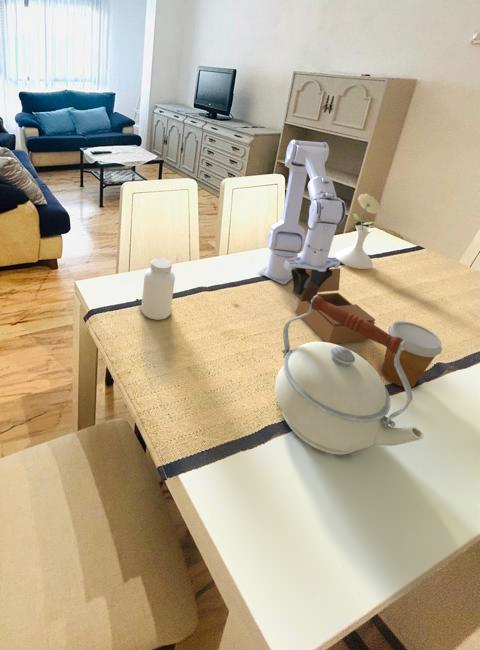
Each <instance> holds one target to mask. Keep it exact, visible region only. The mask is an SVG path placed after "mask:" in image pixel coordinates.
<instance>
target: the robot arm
mask: <svg viewBox="0 0 480 650" xmlns="http://www.w3.org/2000/svg"><path fill="white" fill-rule="evenodd" d="M329 154H330V147H329V144H328V143H327V142H325V141H323V142H321V141H308V140H297V139H292V140H290V142H289V143H288V145H287V148H286V154H285V159H284V166H285V167H286V168H288V169H289V173H288V181H287V186H286V192H285V199H284V204H283V211H282V217H281V220H279V221H277V222H275V223H273V224H272V225H271V227H270V229H269V232H268V234H267V248H268V249H269V250H270V253H269V258H268V261H267V266H266V269H264V270H263V271H261V272H260V275H261V276H264V277H266V278H268V279H270V280H273V281H275V282H276V283H279V284H281V285H286V284H287V283H289V281H291V280H292V285H293V288H292V292H293V291H295V292H296V293H297V294H298V295H300V294H301V292H302V290H303V287H304V284H305V282H306V281H307V279H308V278H309V277H310V275H308V274H307V273H306V270H311V278H310V280H311V281H312V282H313V283H314V284H315V285H317V286H318V287H319V288H320V286H321V285H322V284H323V282H324V281H325V280H326V279H328V278H329V277H330V276H332V273H333V272H332V271H331V270H330V269H331V268H333V269H335V268H340V265H341V262H340V261H339V260H338V259H337V258H336V257H330V256H329V254H330V251H331V247H332V245H333V241H334V237H335V234H336V231H337V227H338V225H342V224H343V222H344V220H345V218H346V212H347V208H346V202H345V201H344V200H343V199H341V198H340V197H338V196H337V192H336V189H335V185H334V182H333V179H331V178H330V177H328V176H327V173H326V166H325V164H326V162H327V160H328V158H329ZM307 177H309V179H310V180H309V182H308V183H307V191H308V194H309V200H310V205H309V208H308V214H309V215H308V220H307V225H308V230H307V233H306V231H305V229H304V227H302V226H301V225H300V224H299V221H300V216H301V210H302V205H303V199H304V193H305V188H306V182H307ZM299 254H301V255H300V256H298V255H299Z"/></svg>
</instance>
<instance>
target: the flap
mask: <svg viewBox="0 0 480 650" xmlns="http://www.w3.org/2000/svg"><path fill="white" fill-rule="evenodd" d="M329 269H330V270H331V271H332V272H333V273H332V276H330V277H329V278H328V279H326V280H325V281H324V282H323V284H322V285H321V286H320V288H319V289H318V292H317V293H327V292H337V291H340V281H341V280H340V279H341V267H339V268H329ZM305 271H306V273H307V274H308V275H310V277H309V278H308V279H310V278H311V269H305Z"/></svg>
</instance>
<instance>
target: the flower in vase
mask: <svg viewBox="0 0 480 650" xmlns="http://www.w3.org/2000/svg"><path fill="white" fill-rule="evenodd" d="M357 201H358V203H359V205H360V207H361V208H362V209H363V210H362V211H361V213H360V215H358V214H357V213H353V214H352V215H351V217H353V218H354V219H355V220H356V221H359V222H360V224H359V225H355V229H356V232H357V233H356V238H355V242H354V245H353V246H351V247H348V248H343V249H341V250H339V251H337V252H336V253H335V258H336V259H338V260H339V261H340V264H343V265H345V266H346V267H349V268H353V269H358V270H368V269H370V268H372V267H373V265H374V263H373V260H372V259H371V257H370V256H369V255H368V254H367V253H366V252H365V250H364V249H363V245H364V242H365V240H366V238H367V237H368V235H369V234H370V233H372V232H373V229H372V228H371V227H369V226H367V225H371V224H373V223H375V221H366V222H363V220H362V216H363V213H364V212H365V210H366V212H367V213H370V214H374V215H378V214H379V213H380V211H381V206H380V205H381V203H380V202H378V199H375V196H373V195H372V196H371V195H370V194H368V193H364V194H363V193H361V194H359V196H358V197H357Z"/></svg>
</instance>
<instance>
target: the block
mask: <svg viewBox="0 0 480 650" xmlns="http://www.w3.org/2000/svg"><path fill="white" fill-rule="evenodd" d="M318 289H319V287H318V286H317V285H315V284H314V283H313V282H312V281H311V280H310V279H307V281H306V282H305V284H304V287H303V290H302V292H301V294H300V295H298V294H297V293H296V292H295V291H293V290H292V294H293V295H294V296H295V297H296V298H297V299H298V301H299V300H301V301H311V300H312V299H313V297H314V296H316V295H317V294H318V293H319V292H318Z"/></svg>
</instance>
